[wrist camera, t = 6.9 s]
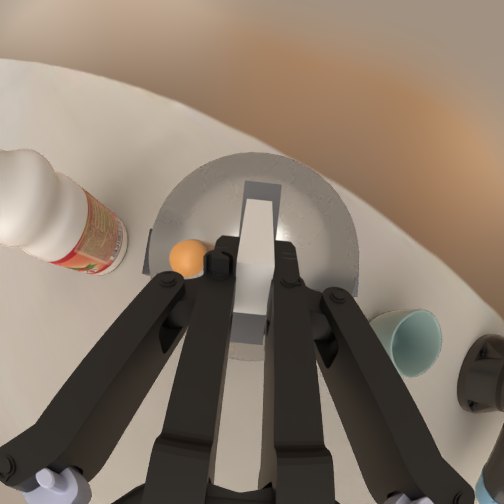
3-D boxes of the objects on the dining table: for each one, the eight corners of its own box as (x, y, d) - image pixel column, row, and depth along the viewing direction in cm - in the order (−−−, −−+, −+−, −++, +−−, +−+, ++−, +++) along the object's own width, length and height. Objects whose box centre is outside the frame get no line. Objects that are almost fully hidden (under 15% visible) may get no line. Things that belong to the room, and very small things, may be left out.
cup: (346, 326, 35) (380, 331, 25) (390, 301, 36) (431, 296, 26) (365, 374, 34) (401, 391, 24) (407, 346, 34) (449, 353, 25)
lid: (334, 359, 22) (344, 377, 19) (152, 340, 22) (138, 356, 19) (363, 172, 20) (379, 165, 17) (165, 149, 20) (151, 139, 17)
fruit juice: (141, 245, 36) (-5, 135, 9) (97, 289, 35) (-72, 247, 7) (109, 201, 37) (-11, 84, 10) (68, 243, 36) (-71, 170, 9)
